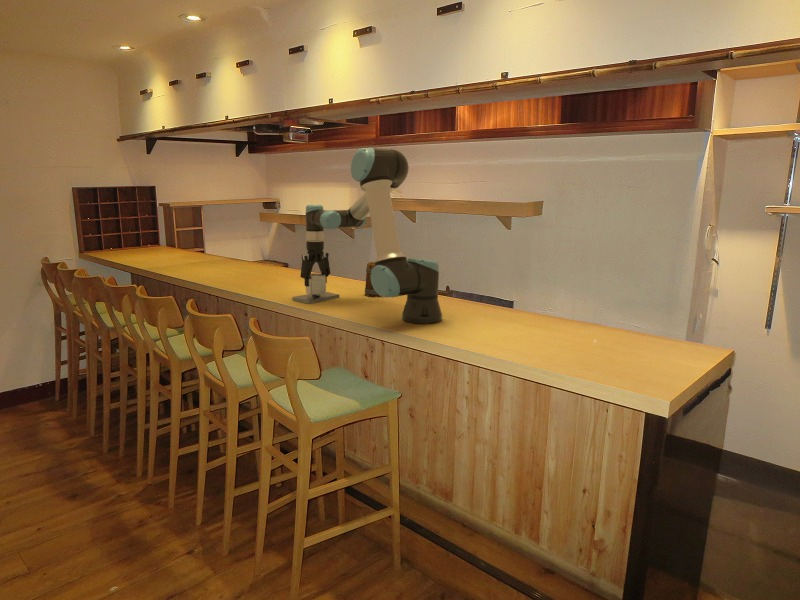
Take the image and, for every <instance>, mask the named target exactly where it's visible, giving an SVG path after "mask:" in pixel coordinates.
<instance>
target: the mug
mask: <svg viewBox="0 0 800 600" xmlns="http://www.w3.org/2000/svg"><path fill="white" fill-rule="evenodd" d="M374 267H375V261H370V262H368V261H367V263H366V271H365V272H366V276H365V288H364V294H365V296H367V297H371V298H382V296H380V295H379V294H378V293H376V291H375V290H374V288H373V286H372V283H371V278H370V276H371V274H372V273H371V271H372V269H373V268H374Z"/></svg>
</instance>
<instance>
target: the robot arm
mask: <svg viewBox="0 0 800 600" xmlns="http://www.w3.org/2000/svg"><path fill="white" fill-rule="evenodd" d="M409 170H410V169H409V162H408V159H407V158H406V156H405V155H404V154H403V153H402V152H401V151H399V150H396V149H391V148H390V149H389V148H376V147H362V148H359V149H358V150H356V152H355V153H354V154H353V156H352V159H351V163H350V175H351V177H352V178H353V180H354V181H356V182H359V186H360V190H362V191H363V193H362V194H361V195H360V196H359V198H357V199H356V201H354V203H353V204H351V206H350V207H349V208H348V209H337V210H336V209H332V210H330V209H329V210H325V209H324V206H323V205H322V204H307V205H306V206H305V214H304V215H305V235H306V236H305V240H306V244H305V245H306V250H307V253H306V254H302V255H301V269H300V278H301V279H303V280H304V287H305V294H311V279H309V278H310V275H311V274H312V271H313V268H314V265H315V263H317V266H318V268H319V270H320V274H325V291H326V292H327V283H328V281H327V280H328V277H329V275H331V268H330V260H329V255H330V254H329V252H324V249H325V241H324V240H325V236H324V235H325V233H324V230H325V229H326V230H336V229H347V228H348V229H349V228H350V229H351V228H355V229H357V228H362V227H364V226H365V225H366V224H367V223H366V222H367V221H368V215H369V216H370V222H371V228H372V232H373V239H374V243H375V249H376V254H377V258H376V259H375V260H374V262H375V267H374V268H373V269H372V271H371V273H372V274H371V276H370V278H371V283H372V286H373V288H374V290H375V291H376V293H378V294H379V295H380V296H382V297H383V298H395V297H399V296H400V297H401V296H406V301H405V304H404V308H403V310H402V313H401V315H402V316H401V319H402V320H403V322H407V323H410V324H411V323H413V324H421V325H422V324H423V325H427V324H430V325H431V324H436V323H439V322H441V321H443V313H442V310H441V306H440V302H439V280H440V279H439V275H440V271H439V262H438V261H436V260H433V259H425V258H418V257H408V258H407V256H406V255H405V254H404V253H402V250H401V245H400V240H399V234H398V229H397V224H396V223H397V222H396V217H395V213H394V207H393V202H392V201H393V200H392V196H391V192H392V190H394V189H398V188H399V187H400V186H401V185H402V184H403V183H404V182H405V181H406V178H407V177H408V174H409ZM382 297H381V298H382Z"/></svg>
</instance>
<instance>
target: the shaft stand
mask: <svg viewBox="0 0 800 600" xmlns="http://www.w3.org/2000/svg"><path fill="white" fill-rule="evenodd" d="M291 299H292V301H294V302H297V303H304V304H307V305H311V304H316V303H320V302H324V301H325V302H326V301H331V300H336V299H341V298H340V294H338V293H333V292H328V291H326V292H325V293H324V294H307V293H305V294H302V295H297V296H292V297H291Z"/></svg>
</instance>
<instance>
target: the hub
mask: <svg viewBox="0 0 800 600" xmlns="http://www.w3.org/2000/svg"><path fill="white" fill-rule="evenodd" d="M309 279H311V294H324V293H325V292H327V290H326V291H325V274H321V272H320V273H317V272H316V273H313V272H312V273H311V275H310V278H309Z"/></svg>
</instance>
